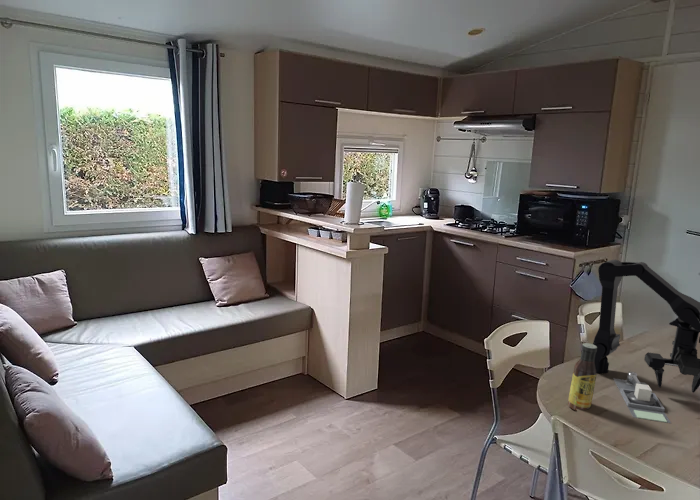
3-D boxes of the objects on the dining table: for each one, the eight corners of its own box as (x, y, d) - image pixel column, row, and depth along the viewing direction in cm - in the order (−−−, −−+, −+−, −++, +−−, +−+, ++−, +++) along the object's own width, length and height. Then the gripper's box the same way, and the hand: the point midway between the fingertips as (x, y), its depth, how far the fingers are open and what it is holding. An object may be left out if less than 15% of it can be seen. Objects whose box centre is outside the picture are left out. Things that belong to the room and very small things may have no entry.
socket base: (632, 420, 147) (633, 414, 146) (612, 381, 170) (613, 375, 170) (670, 427, 144) (672, 419, 144) (645, 386, 168) (646, 380, 167)
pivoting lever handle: (634, 395, 158) (636, 386, 157) (625, 379, 168) (627, 370, 168) (644, 396, 157) (645, 387, 157) (634, 380, 168) (636, 372, 167)
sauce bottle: (576, 414, 149) (586, 350, 145) (562, 403, 155) (571, 342, 150) (595, 412, 151) (605, 349, 146) (581, 401, 157) (590, 340, 152)
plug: (631, 405, 153) (634, 390, 152) (625, 393, 160) (628, 379, 159) (657, 409, 151) (660, 394, 150) (650, 397, 158) (653, 383, 157)
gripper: (659, 348, 149) (650, 397, 153) (732, 357, 145) (721, 407, 148) (648, 334, 160) (639, 380, 163) (716, 342, 155) (706, 389, 159)
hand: (676, 389), depth 158 cm, fingers open, 9 cm apart
